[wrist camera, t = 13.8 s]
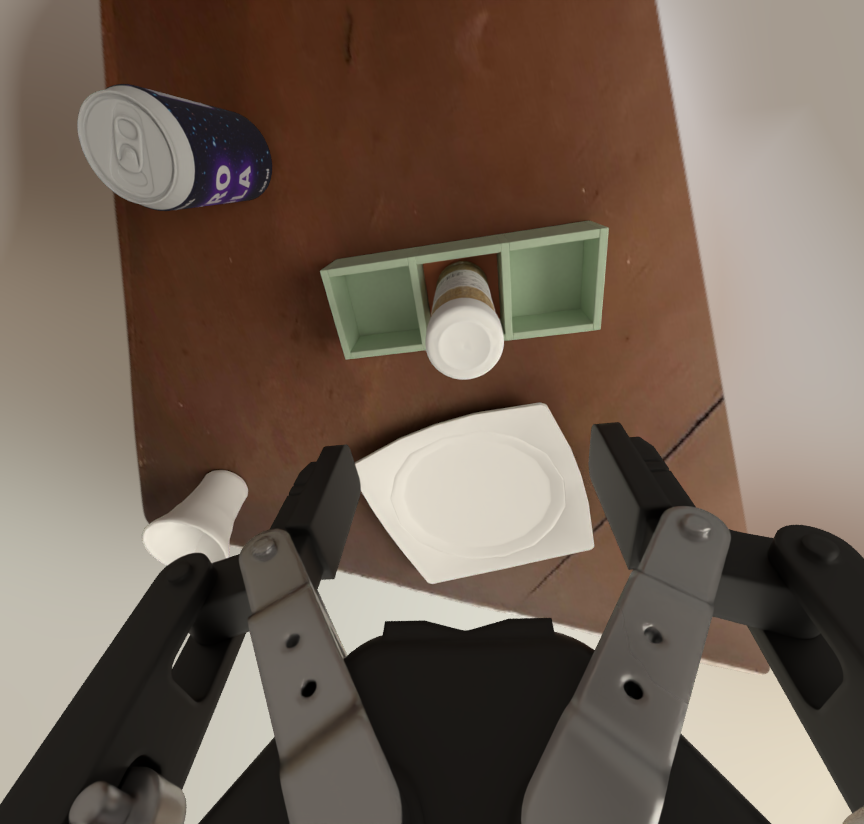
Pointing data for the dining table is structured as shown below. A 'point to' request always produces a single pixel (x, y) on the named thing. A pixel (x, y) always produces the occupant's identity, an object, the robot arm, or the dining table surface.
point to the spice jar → (463, 324)
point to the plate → (480, 493)
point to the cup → (199, 520)
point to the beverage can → (171, 149)
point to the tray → (507, 280)
